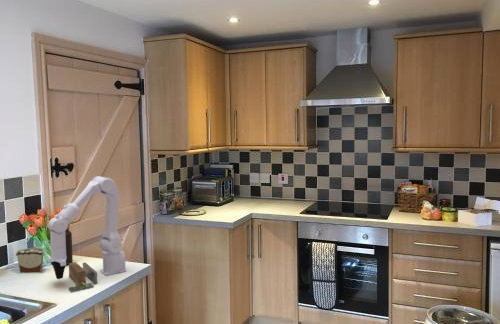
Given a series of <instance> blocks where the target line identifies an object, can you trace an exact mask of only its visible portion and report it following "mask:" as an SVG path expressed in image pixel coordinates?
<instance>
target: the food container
mask: <svg viewBox="0 0 500 324" xmlns="http://www.w3.org/2000/svg"><path fill="white" fill-rule="evenodd" d="M44 256H45V250H44V249H43V248H42V247H41V248H40V247H30V248H29V247H28V248H23V249H19V250H17V251H16V253H15V257H16V258H17V263H18V269H19V274H41V273H42V272H43V262H44Z"/></svg>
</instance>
